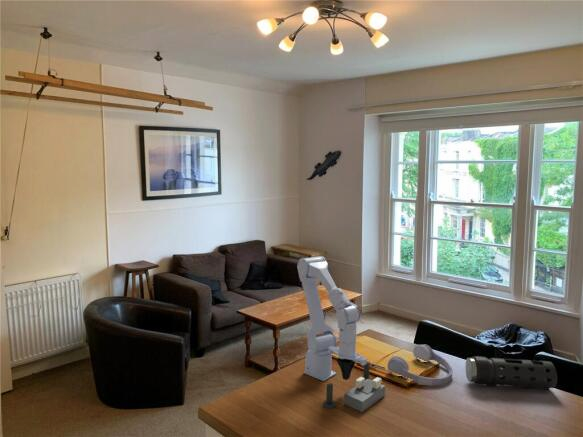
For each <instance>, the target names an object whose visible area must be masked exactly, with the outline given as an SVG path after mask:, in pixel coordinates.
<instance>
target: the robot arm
mask: <svg viewBox="0 0 583 437" xmlns="http://www.w3.org/2000/svg"><path fill="white" fill-rule="evenodd" d="M296 267H297V273H298V278H299V281H300V282H301V284H302V288H303V292H304V296H305V300H306V306H307V310H308V315H309V319H310V323H311V327H310V329H309V331H308V332H307V333H306V336H307V347H308V350H307V351H306V353H305V359H304V360H305V362H304V363H305V365H304V366H305V370H304V371H303V374H306V375H308V376H310V377H312V378H315V379H317V380H320V381H322V382H324V381H327V380H328V379H330V378H331V377H333V376H335V375H336V374H337V373H336V371H333V370H332V356H333V355H336V356H337V359H336V362H337V364H338V366H339V369H340V371H341V376H342V379H343V380H345V381H348V380H349V379H350V378H351V373H352V371H353V368H354V366H355V365H356V363H357V364H360V366H362V367H364V365H366V364H367V362H368V361H367V360H368V358H367V357H364V356H363V355H360V354H359V353H357V352H356V348H357V322H359V321H360V320H361V311H360V308H359V307H358V305H356V304H354V303H353V302H352V301H350V299H348V296H347V295H346V294H345V292H344V291H343V289H342V288H341V287H339V288H338V287H337V284H336V283H335V281H334V280H333V278H332V276H331V274H330V271H329V265H328V262H327V260H326V258H325V257H324V256H323V255H319V256H312V257H301V258H299V260H298V263H297V265H296ZM318 280H319V282H320V283H321V284H322V286H323V287H324V289H325V290H326V291H327V293H328V294H327V299H328V300H329V302H330V303H331V305H332V306H333V308H334V310H335V311H336V313H335V318H336V320H337V327H338V339H337V337H336V334H335V333H334V330H333V327H332V326H330V325H328V324H327V323H326V319H325V315H324V310H323V306H322V303H321V298H320V294H319V289H318V286H317V282H318ZM319 333H320V334H319ZM337 344H338V347H337ZM332 354H333V355H332Z"/></svg>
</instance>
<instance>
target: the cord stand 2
mask: <svg viewBox="0 0 583 437" xmlns="http://www.w3.org/2000/svg"><path fill="white" fill-rule="evenodd" d="M362 377H363V378H365V380H366V379H369V380H372V381H373V379H372V378H371V377H370V362H369V361H367V364H366V365H364V366H363V376H362Z"/></svg>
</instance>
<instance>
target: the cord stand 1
mask: <svg viewBox="0 0 583 437" xmlns="http://www.w3.org/2000/svg"><path fill="white" fill-rule="evenodd" d="M333 391H334V385H333V383H327V384H326V395H325V396H326V399H325V400H324V401H322V406H323V408H325V409H326V410H327V409H328V410H329V409H330V410H331V409H334V408H336V402H335V401H334V400H333V396H334V394H333V393H334V392H333Z"/></svg>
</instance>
